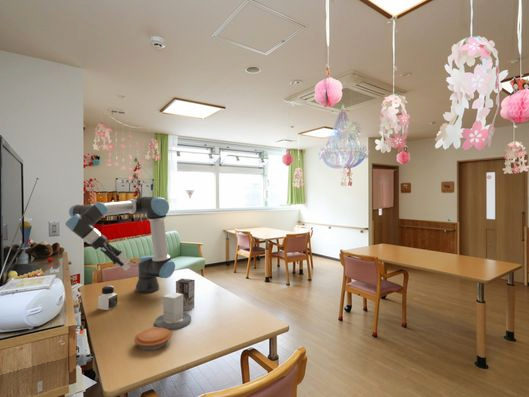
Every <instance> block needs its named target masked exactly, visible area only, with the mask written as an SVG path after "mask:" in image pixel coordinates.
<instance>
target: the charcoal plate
mask: <svg viewBox="0 0 529 397" xmlns="http://www.w3.org/2000/svg"><path fill="white" fill-rule="evenodd" d="M191 322H192V316H191V314H189V313H186V312H183V318H182V319H180V320H178V321H176V322H174V323H172V322H168V321H164V320H163V314H162V315H159V316H158V317H157V318H155V321H154V325H155V328H165V329H168V330H170V331H172V330H171V329H174V330H177V329H178V328H179V329H181V328H185V327H187V326H188V325H189V324H190V323H191ZM186 325H187V326H186ZM184 326H185V327H184Z"/></svg>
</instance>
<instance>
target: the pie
mask: <svg viewBox="0 0 529 397" xmlns="http://www.w3.org/2000/svg"><path fill="white" fill-rule="evenodd" d="M172 336H173V332H172V330H168V329H165V328H157V327H151V328H147V329H145V330H143V331H141V332H139V333H138V334H136V336H135V337H134V343H135V344H136V345H137V346H138V348H139V349H141V350H142V351H145V352H146V351H147V352H149V351H156V350H159V349H161V348H164V347H165V346H166V345H167V343H168V341H170V339H171V338H172Z"/></svg>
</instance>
